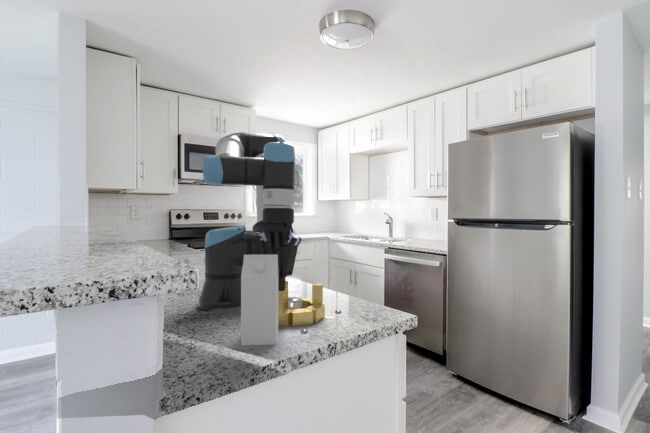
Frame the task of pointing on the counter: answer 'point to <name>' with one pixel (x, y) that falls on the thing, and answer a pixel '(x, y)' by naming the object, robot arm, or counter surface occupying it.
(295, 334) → the counter surface
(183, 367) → the counter surface
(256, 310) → the milk carton
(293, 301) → the flange plate
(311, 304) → the gold foil sensor mount
